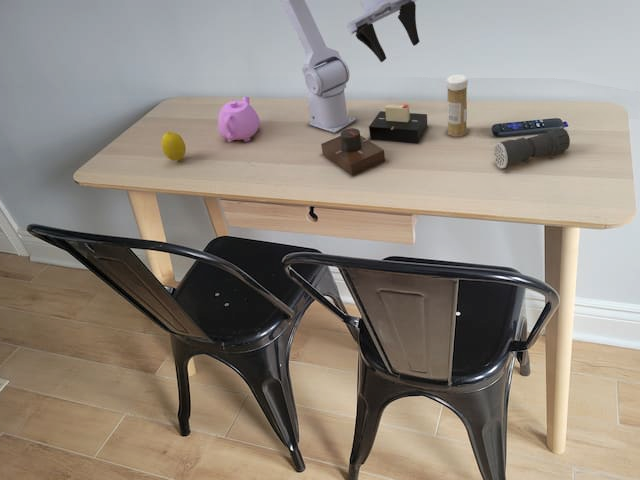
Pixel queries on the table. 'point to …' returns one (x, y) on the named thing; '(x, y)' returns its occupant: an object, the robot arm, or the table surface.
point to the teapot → (238, 120)
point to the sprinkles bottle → (457, 105)
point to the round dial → (351, 139)
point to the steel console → (398, 128)
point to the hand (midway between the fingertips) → (400, 52)
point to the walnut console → (353, 155)
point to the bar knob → (397, 113)
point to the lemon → (173, 146)
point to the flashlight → (530, 147)
